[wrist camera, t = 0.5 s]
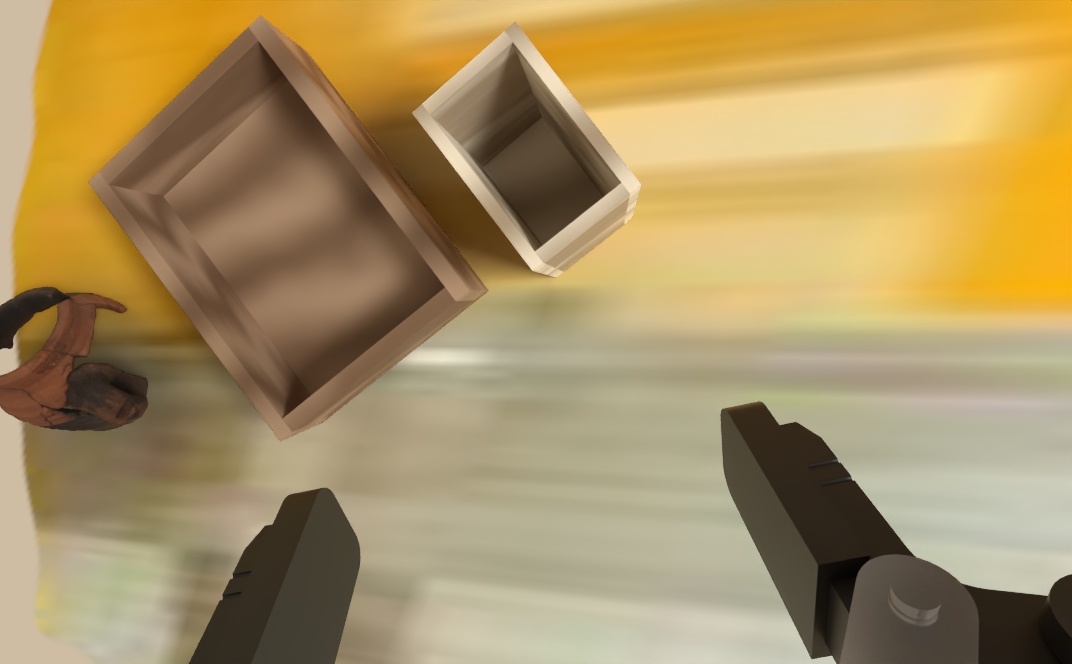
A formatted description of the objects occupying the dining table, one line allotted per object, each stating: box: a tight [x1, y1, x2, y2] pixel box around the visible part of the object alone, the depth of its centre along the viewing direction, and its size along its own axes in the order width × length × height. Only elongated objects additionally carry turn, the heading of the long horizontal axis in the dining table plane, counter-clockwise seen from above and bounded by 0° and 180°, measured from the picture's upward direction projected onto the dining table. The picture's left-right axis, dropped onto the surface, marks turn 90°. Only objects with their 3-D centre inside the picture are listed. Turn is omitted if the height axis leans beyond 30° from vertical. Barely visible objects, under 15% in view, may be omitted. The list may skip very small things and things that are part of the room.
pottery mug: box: [0, 287, 148, 431], centre depth 38 cm, size 12×10×8 cm
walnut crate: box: [88, 15, 488, 441], centre depth 35 cm, size 20×15×5 cm
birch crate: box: [412, 22, 641, 277], centre depth 30 cm, size 9×6×11 cm, turn 38°
